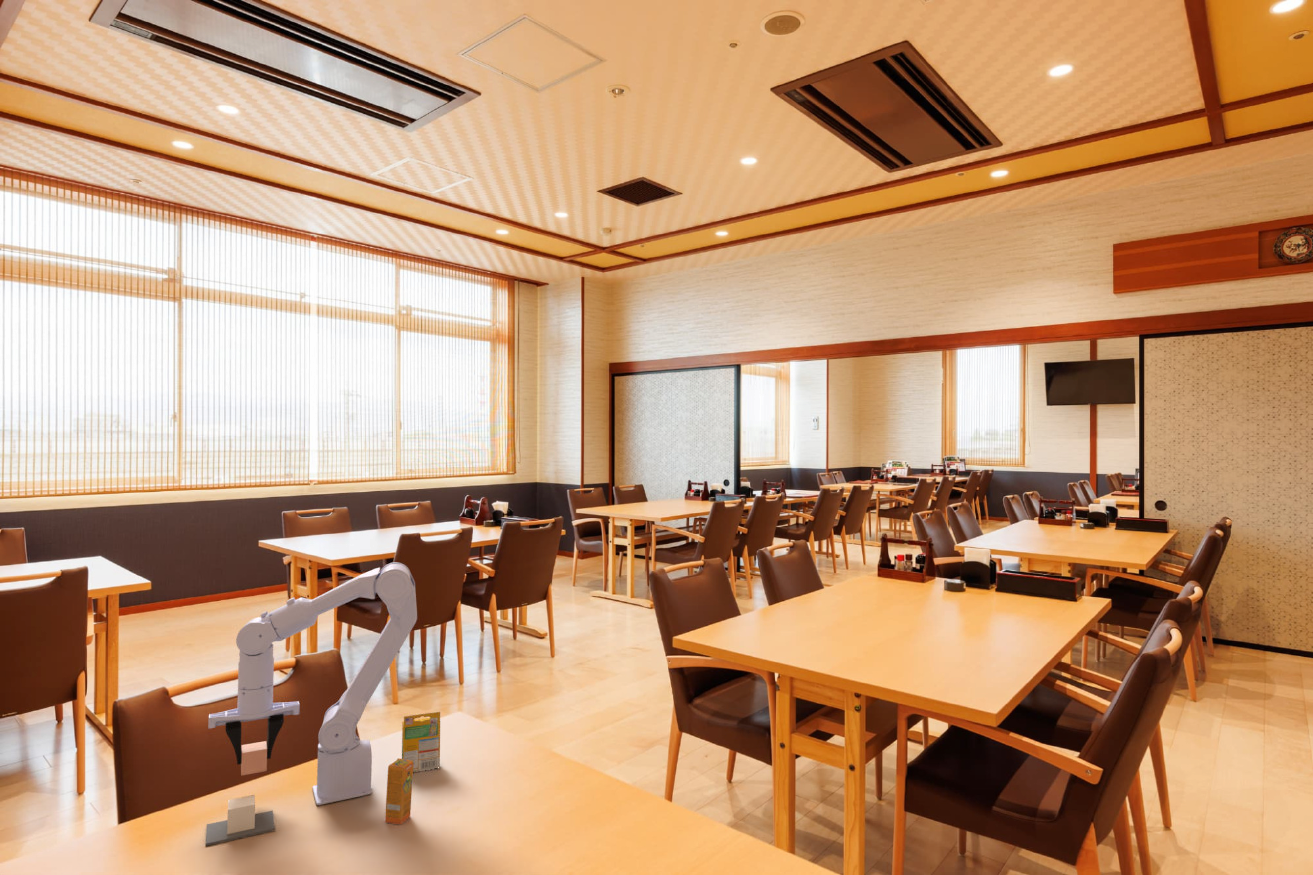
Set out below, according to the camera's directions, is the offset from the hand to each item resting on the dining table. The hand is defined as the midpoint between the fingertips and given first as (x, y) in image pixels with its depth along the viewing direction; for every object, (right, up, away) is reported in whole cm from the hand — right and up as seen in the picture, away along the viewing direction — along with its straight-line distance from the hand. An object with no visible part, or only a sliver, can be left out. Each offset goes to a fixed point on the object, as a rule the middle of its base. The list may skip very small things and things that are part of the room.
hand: (253, 759), depth 131 cm
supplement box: (+29, -8, -5) cm, 30 cm away
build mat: (+3, -8, -9) cm, 12 cm away
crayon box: (+26, -9, +15) cm, 31 cm away
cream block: (+3, -7, -9) cm, 12 cm away
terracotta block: (0, -2, 0) cm, 2 cm away
